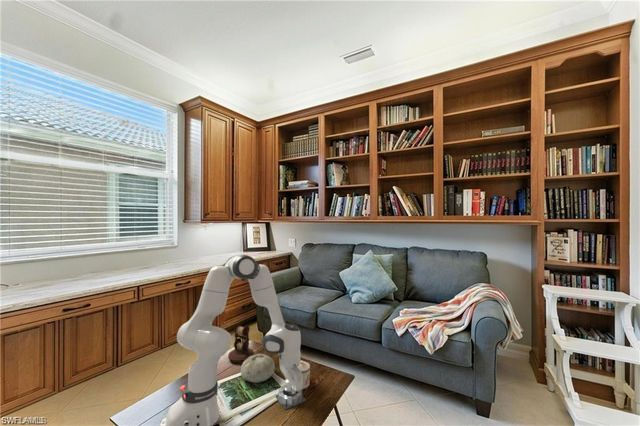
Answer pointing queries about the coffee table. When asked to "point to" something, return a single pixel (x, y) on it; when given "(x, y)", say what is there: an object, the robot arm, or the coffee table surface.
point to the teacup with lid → (305, 373)
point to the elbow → (288, 388)
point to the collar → (289, 398)
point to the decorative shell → (257, 368)
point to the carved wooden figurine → (241, 345)
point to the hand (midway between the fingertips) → (290, 389)
